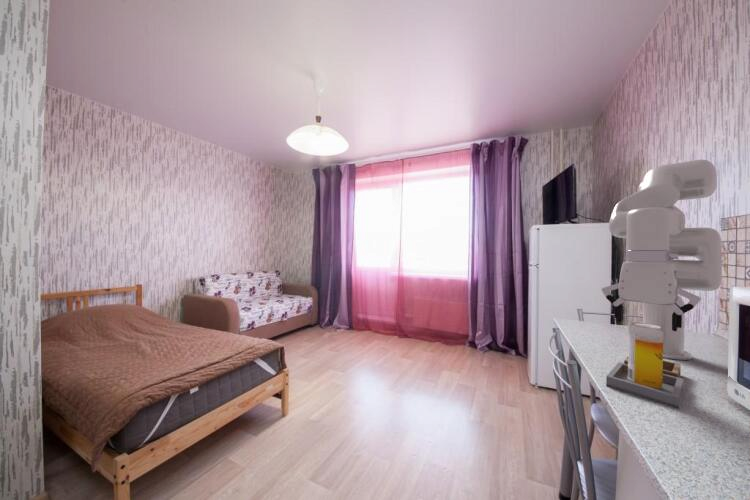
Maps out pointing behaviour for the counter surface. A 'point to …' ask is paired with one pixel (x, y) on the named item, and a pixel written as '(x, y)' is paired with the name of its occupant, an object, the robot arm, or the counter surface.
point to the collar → (667, 368)
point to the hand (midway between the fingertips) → (646, 325)
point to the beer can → (645, 355)
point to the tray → (665, 394)
